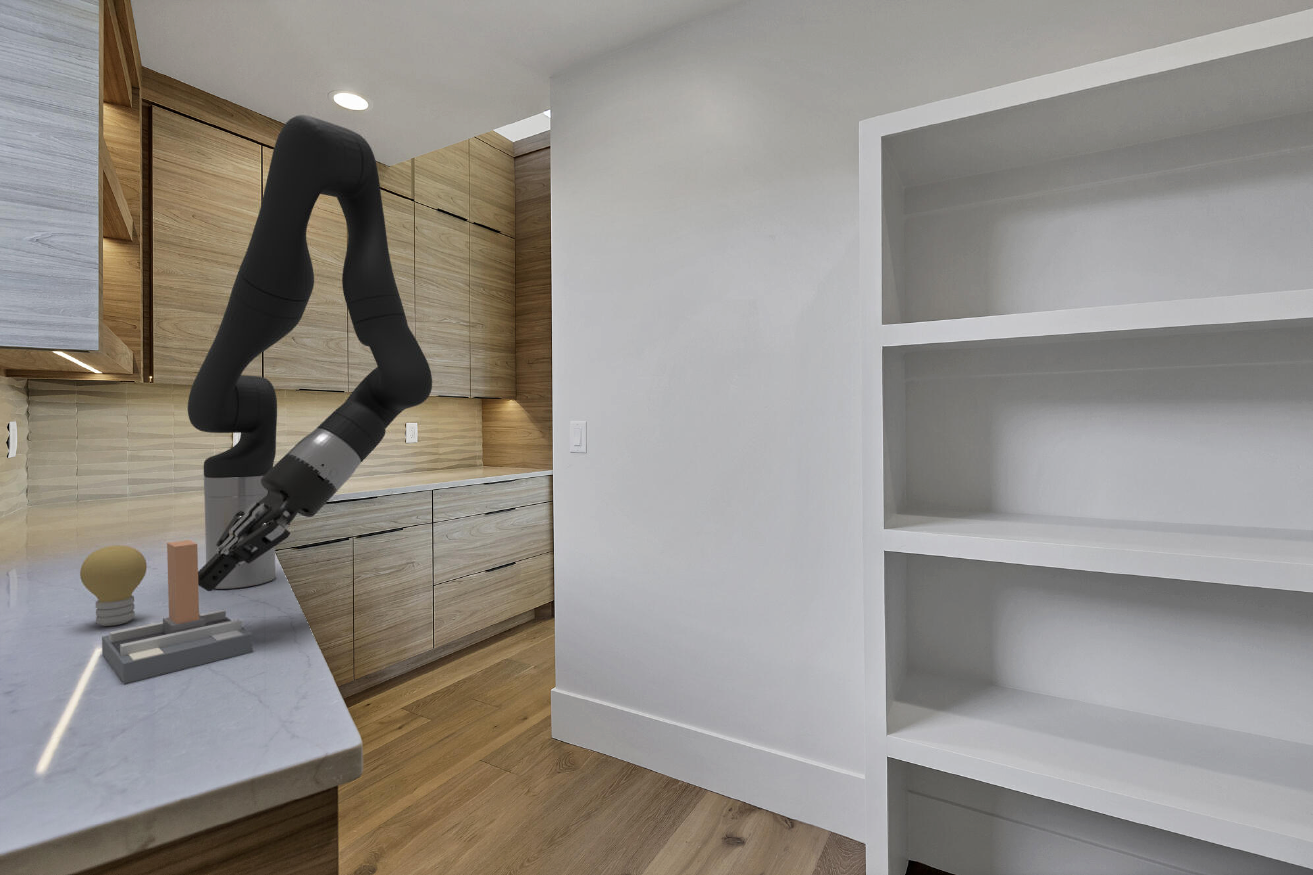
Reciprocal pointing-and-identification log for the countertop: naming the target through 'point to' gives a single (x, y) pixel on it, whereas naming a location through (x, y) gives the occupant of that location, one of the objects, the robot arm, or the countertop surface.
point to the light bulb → (113, 582)
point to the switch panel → (173, 647)
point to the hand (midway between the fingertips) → (200, 586)
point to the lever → (182, 588)
